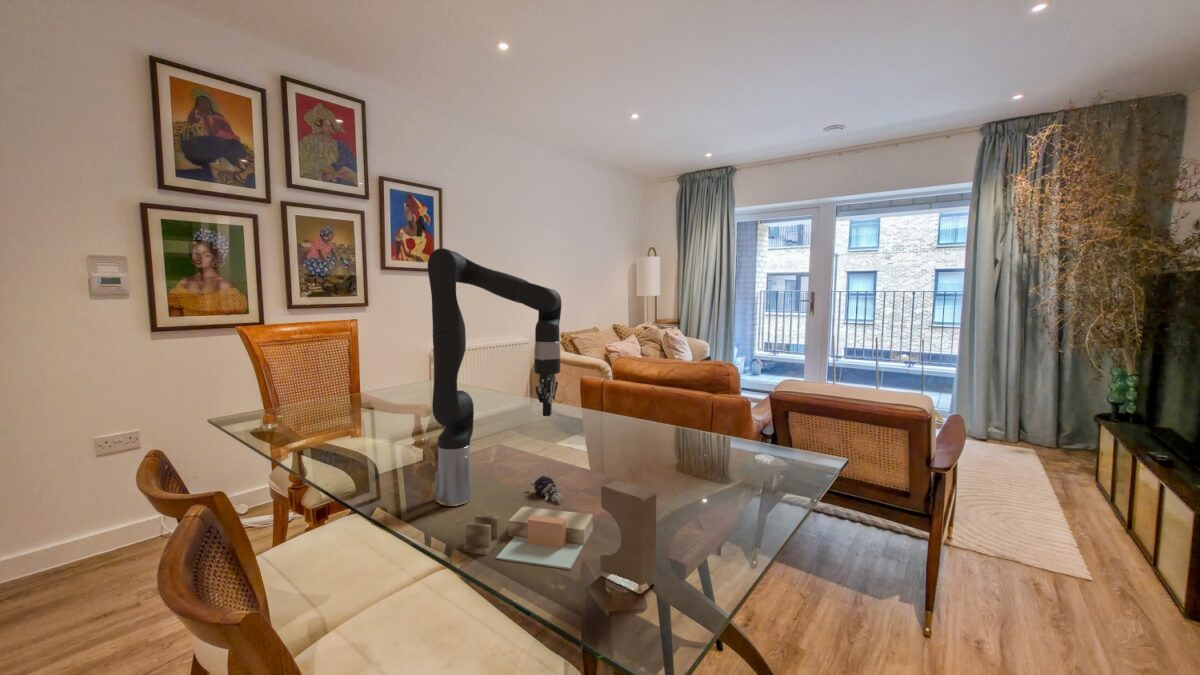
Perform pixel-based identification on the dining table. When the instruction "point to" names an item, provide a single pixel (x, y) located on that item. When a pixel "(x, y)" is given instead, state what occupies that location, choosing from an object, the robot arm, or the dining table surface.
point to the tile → (547, 531)
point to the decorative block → (631, 531)
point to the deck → (576, 523)
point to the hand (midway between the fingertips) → (547, 415)
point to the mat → (540, 553)
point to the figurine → (547, 488)
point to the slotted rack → (482, 534)
